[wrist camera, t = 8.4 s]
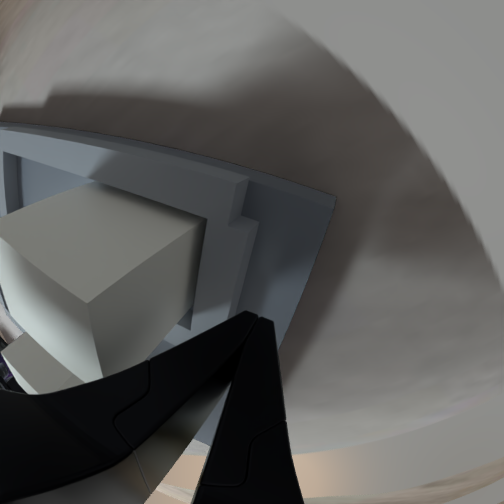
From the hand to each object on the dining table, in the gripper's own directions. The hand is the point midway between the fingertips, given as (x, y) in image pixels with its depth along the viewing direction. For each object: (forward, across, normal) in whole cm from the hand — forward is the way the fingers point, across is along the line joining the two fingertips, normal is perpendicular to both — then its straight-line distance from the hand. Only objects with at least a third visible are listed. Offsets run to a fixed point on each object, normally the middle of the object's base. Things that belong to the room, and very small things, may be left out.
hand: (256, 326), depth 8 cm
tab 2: (+2, +5, 0) cm, 5 cm away
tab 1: (+2, +11, +10) cm, 15 cm away
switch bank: (+3, +11, +5) cm, 13 cm away
